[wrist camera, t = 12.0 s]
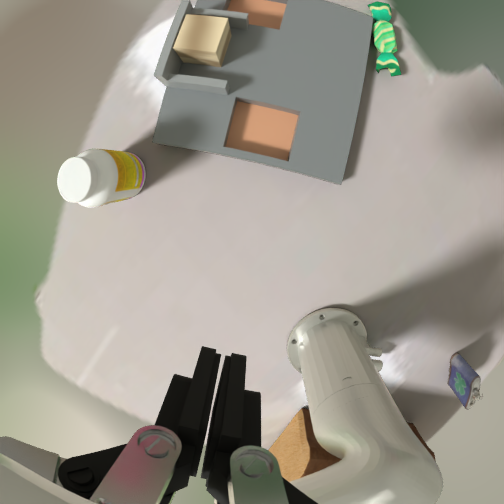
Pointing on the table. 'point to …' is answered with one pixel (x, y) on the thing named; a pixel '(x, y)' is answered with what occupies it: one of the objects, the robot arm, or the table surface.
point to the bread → (307, 448)
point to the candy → (384, 37)
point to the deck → (270, 85)
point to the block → (203, 40)
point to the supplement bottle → (101, 177)
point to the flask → (464, 381)
